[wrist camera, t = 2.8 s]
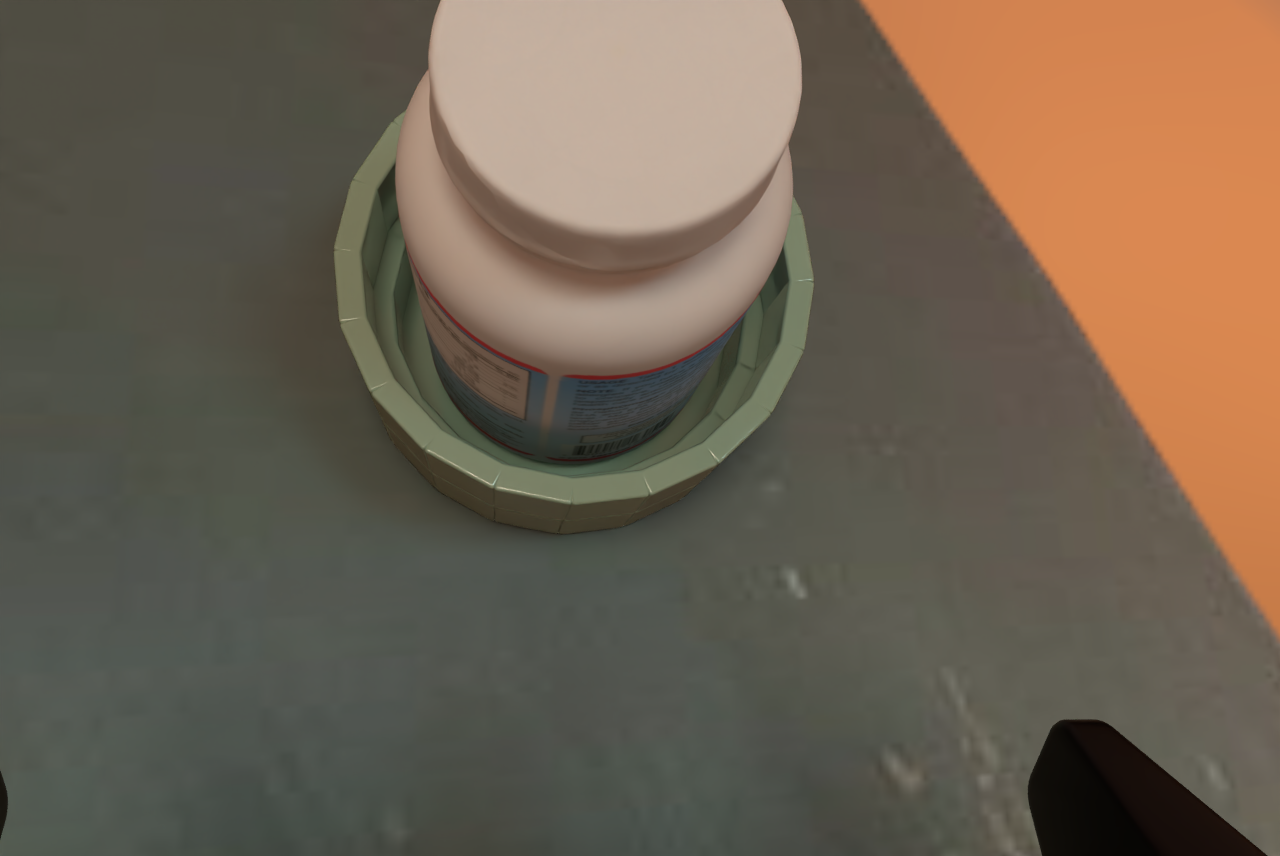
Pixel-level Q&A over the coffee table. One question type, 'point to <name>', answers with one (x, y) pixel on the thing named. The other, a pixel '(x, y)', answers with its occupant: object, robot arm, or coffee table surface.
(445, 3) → the pill bottle
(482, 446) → the bowl
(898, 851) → the coffee table surface
